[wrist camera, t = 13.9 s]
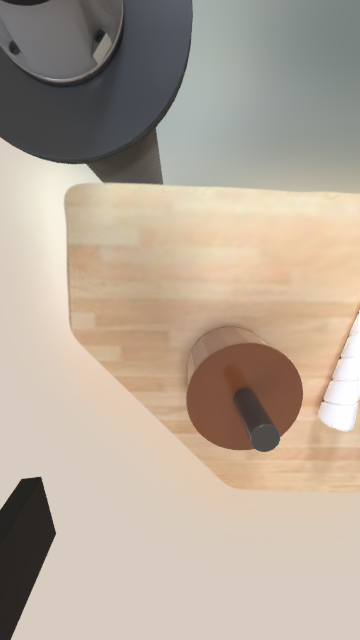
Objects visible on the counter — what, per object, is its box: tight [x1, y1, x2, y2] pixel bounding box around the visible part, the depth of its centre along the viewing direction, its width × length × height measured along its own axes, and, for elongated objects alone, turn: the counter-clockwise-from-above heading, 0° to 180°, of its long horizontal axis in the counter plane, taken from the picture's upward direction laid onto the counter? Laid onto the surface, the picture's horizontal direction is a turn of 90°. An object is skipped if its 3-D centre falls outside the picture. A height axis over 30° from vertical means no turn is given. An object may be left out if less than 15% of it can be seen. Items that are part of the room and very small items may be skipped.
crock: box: [187, 327, 265, 380], centre depth 38 cm, size 13×13×10 cm
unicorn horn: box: [317, 310, 360, 431], centre depth 40 cm, size 5×24×5 cm, turn 164°
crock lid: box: [186, 341, 303, 452], centre depth 30 cm, size 14×14×9 cm
